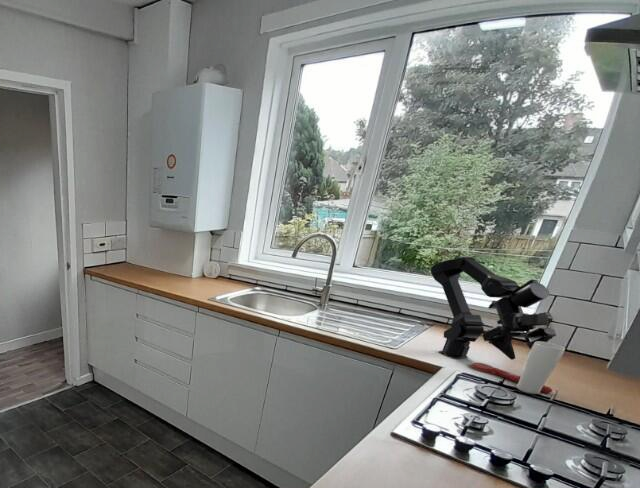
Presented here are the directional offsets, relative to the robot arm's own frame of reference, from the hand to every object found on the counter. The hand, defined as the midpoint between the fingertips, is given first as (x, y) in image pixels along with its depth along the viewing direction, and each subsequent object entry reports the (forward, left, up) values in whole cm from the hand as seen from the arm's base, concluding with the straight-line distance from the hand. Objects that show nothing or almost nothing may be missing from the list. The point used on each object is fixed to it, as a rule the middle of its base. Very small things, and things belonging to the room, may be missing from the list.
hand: (527, 359), depth 125 cm
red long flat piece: (-4, +3, -9) cm, 10 cm away
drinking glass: (+4, -1, -9) cm, 10 cm away
